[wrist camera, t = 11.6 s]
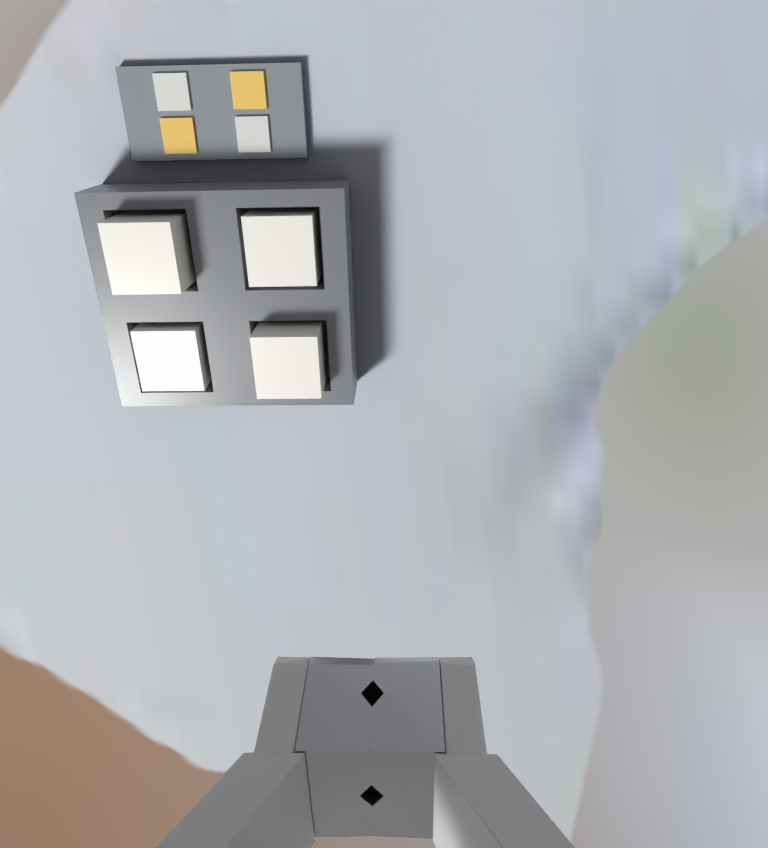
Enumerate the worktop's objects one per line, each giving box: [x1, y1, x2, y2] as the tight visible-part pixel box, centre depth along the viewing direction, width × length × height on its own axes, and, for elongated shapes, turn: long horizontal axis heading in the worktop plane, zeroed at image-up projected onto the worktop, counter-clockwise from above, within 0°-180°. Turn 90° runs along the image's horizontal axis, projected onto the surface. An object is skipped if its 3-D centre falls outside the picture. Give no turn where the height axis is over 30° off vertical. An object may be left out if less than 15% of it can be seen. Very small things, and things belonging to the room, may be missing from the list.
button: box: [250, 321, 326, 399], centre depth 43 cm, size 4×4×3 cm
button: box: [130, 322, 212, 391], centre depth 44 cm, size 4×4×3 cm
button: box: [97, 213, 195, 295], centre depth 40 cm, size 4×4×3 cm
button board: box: [74, 180, 357, 406], centre depth 43 cm, size 16×14×4 cm
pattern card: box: [115, 62, 308, 161], centre depth 40 cm, size 11×5×1 cm, turn 91°
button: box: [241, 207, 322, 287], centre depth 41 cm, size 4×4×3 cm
